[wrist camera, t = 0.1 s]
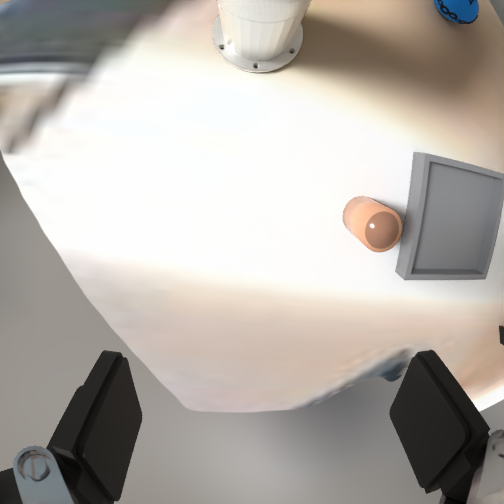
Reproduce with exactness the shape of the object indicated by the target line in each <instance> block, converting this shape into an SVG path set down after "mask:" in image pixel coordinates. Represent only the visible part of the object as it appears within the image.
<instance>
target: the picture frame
mask: <svg viewBox="0 0 504 504" xmlns="http://www.w3.org/2000/svg"><path fill="white" fill-rule="evenodd" d="M499 332H500V343H501V344H503V345H504V329H503V328H502V327H501V326H499Z"/></svg>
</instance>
